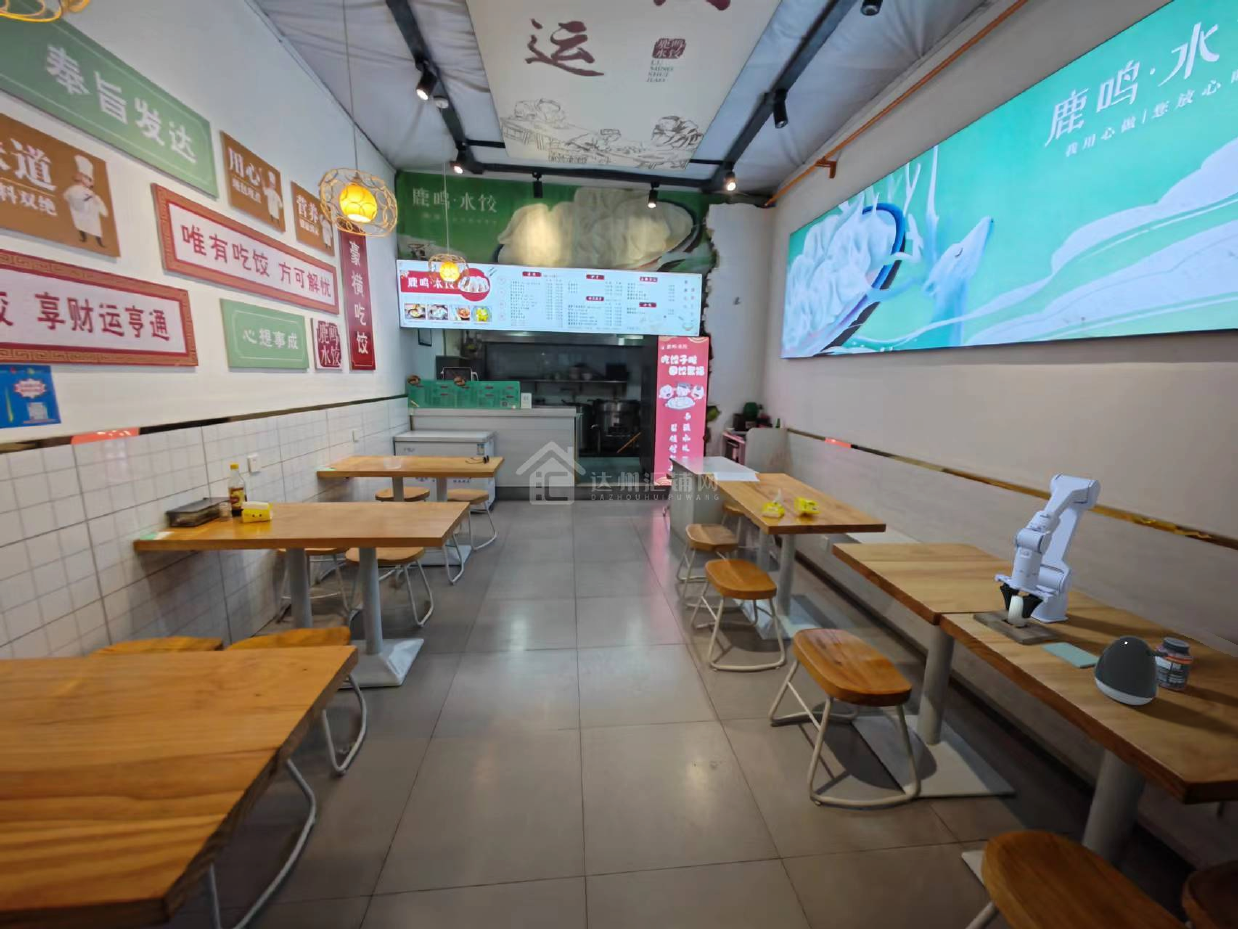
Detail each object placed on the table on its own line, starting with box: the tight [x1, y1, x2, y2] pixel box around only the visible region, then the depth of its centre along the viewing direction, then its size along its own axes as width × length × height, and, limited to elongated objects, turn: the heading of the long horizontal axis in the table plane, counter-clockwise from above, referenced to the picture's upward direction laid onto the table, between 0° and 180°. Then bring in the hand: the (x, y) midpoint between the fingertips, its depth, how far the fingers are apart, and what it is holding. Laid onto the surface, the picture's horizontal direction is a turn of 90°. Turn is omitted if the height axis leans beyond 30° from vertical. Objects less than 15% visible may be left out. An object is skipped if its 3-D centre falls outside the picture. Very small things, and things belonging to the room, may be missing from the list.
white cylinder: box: [1007, 594, 1026, 627], centre depth 138 cm, size 4×4×8 cm
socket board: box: [972, 609, 1061, 645], centre depth 139 cm, size 14×14×2 cm
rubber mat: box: [1040, 641, 1100, 669], centre depth 126 cm, size 9×9×1 cm
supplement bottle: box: [1154, 637, 1194, 692], centre depth 114 cm, size 6×6×11 cm
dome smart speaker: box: [1092, 635, 1169, 706], centre depth 108 cm, size 10×10×15 cm
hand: (1017, 613), depth 138 cm, fingers closed on white cylinder, 4 cm apart
